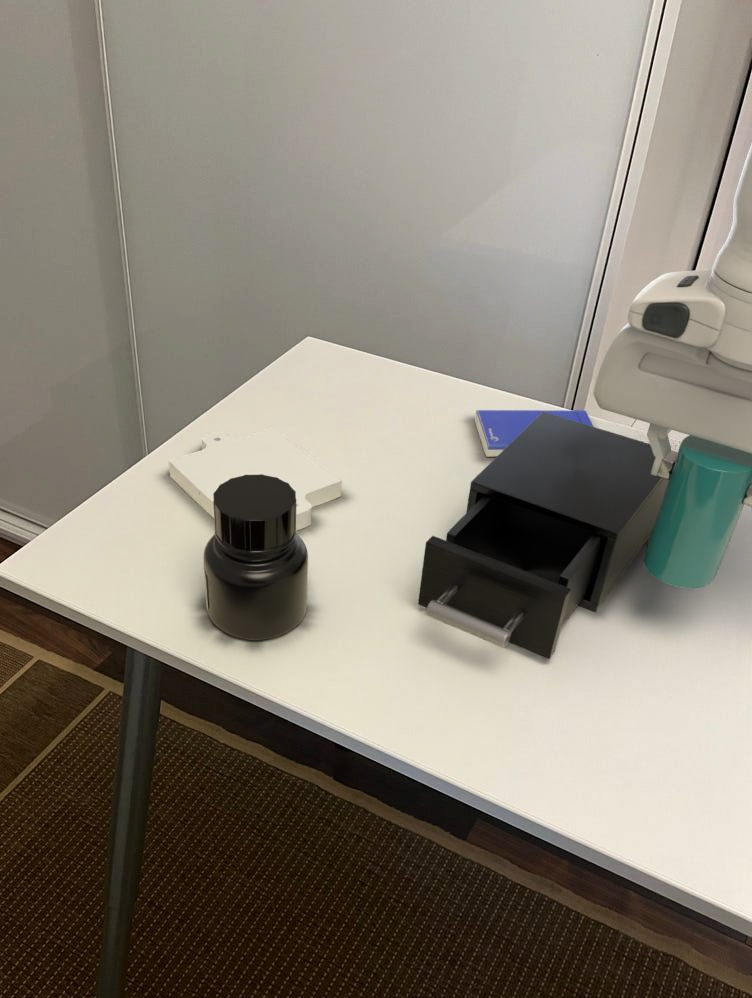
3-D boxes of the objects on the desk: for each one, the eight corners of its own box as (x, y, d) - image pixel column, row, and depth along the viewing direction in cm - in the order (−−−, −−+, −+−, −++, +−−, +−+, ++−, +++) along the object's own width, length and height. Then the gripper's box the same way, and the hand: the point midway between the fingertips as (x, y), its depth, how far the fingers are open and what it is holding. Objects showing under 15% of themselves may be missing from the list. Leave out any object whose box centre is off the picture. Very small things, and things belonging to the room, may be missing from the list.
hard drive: (488, 445, 105) (603, 445, 105) (476, 408, 111) (585, 408, 111) (486, 458, 106) (600, 458, 106) (474, 420, 112) (582, 420, 112)
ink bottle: (265, 565, 92) (264, 454, 84) (330, 610, 87) (335, 496, 79) (183, 609, 87) (173, 496, 79) (247, 659, 82) (243, 544, 74)
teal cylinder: (725, 561, 81) (770, 446, 74) (703, 597, 78) (748, 480, 71) (657, 538, 84) (694, 424, 77) (633, 571, 80) (669, 456, 73)
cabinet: (595, 612, 86) (618, 533, 81) (458, 558, 92) (470, 481, 87) (655, 528, 96) (679, 452, 90) (527, 484, 102) (542, 411, 96)
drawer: (527, 689, 78) (543, 625, 73) (393, 630, 83) (400, 567, 79) (613, 572, 89) (631, 510, 85) (490, 526, 95) (501, 466, 90)
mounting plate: (159, 465, 105) (157, 450, 103) (260, 432, 110) (260, 417, 109) (246, 549, 93) (246, 533, 92) (355, 508, 99) (356, 492, 97)
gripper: (943, 340, 64) (858, 514, 73) (640, 270, 73) (598, 433, 82) (927, 376, 60) (839, 555, 69) (609, 298, 69) (568, 466, 78)
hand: (706, 488), depth 76 cm, fingers closed on teal cylinder, 6 cm apart
